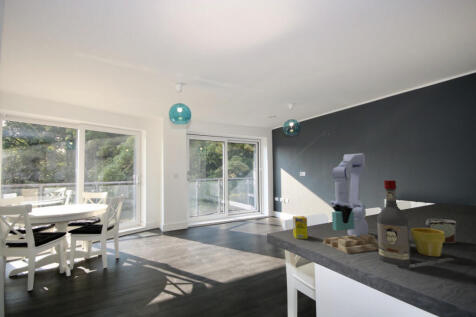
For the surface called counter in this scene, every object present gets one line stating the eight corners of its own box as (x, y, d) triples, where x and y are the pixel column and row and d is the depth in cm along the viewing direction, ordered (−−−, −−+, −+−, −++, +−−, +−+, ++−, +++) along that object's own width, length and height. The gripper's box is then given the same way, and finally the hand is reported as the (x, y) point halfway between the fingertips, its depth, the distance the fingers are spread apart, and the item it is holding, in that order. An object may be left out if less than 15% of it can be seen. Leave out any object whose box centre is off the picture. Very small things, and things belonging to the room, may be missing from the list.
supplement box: (307, 240, 114) (307, 218, 115) (295, 240, 114) (295, 218, 115) (304, 237, 120) (304, 215, 121) (293, 237, 120) (292, 216, 121)
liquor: (382, 256, 91) (377, 180, 93) (411, 261, 85) (405, 180, 87) (378, 263, 83) (373, 180, 86) (409, 269, 78) (403, 181, 80)
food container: (447, 239, 112) (446, 218, 113) (458, 243, 106) (456, 221, 106) (420, 239, 113) (419, 218, 114) (429, 242, 107) (428, 220, 108)
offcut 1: (346, 247, 99) (346, 237, 100) (353, 250, 95) (353, 240, 96) (338, 248, 98) (337, 238, 98) (345, 251, 94) (344, 241, 94)
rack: (353, 240, 112) (353, 234, 112) (382, 251, 97) (382, 243, 97) (322, 244, 107) (321, 238, 107) (347, 256, 91) (347, 248, 92)
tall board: (350, 227, 109) (349, 210, 109) (354, 229, 106) (353, 211, 107) (332, 229, 106) (331, 212, 106) (336, 230, 103) (335, 212, 104)
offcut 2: (358, 245, 101) (357, 237, 101) (365, 248, 97) (365, 240, 97) (348, 247, 100) (348, 238, 100) (356, 249, 96) (355, 241, 96)
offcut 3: (368, 244, 103) (367, 234, 103) (375, 247, 99) (375, 236, 99) (360, 245, 101) (359, 235, 102) (367, 248, 98) (367, 237, 98)
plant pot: (410, 249, 98) (408, 226, 98) (441, 253, 93) (439, 228, 94) (415, 257, 88) (413, 232, 89) (450, 262, 84) (448, 234, 84)
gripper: (324, 191, 113) (325, 219, 112) (346, 194, 99) (347, 226, 98) (336, 191, 115) (337, 218, 114) (359, 193, 101) (361, 224, 100)
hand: (343, 222), depth 106 cm, fingers closed on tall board, 2 cm apart
